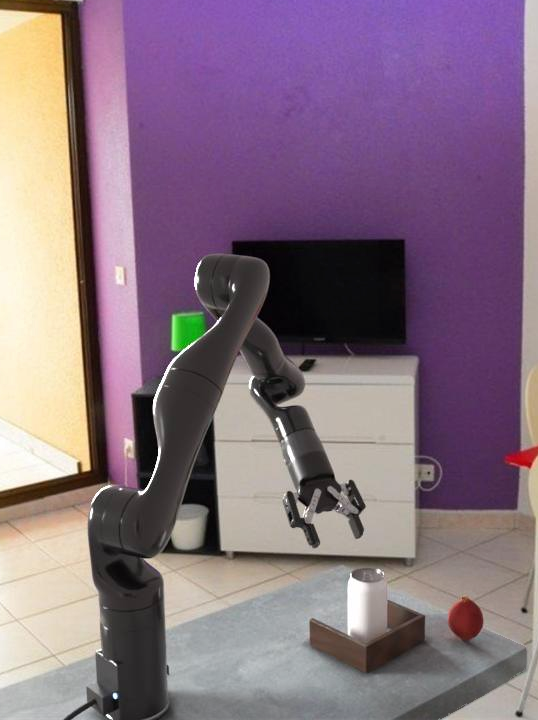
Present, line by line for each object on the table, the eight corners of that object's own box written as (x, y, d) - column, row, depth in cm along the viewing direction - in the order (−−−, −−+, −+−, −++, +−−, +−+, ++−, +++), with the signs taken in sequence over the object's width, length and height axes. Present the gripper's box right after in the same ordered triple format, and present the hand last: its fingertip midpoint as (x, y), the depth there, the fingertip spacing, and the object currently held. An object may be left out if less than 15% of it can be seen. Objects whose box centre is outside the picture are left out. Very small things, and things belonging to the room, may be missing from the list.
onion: (462, 628, 155) (463, 584, 153) (489, 640, 150) (491, 595, 149) (440, 640, 151) (441, 595, 149) (468, 653, 146) (469, 606, 145)
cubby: (366, 673, 141) (366, 646, 140) (309, 644, 150) (309, 619, 149) (425, 640, 151) (425, 615, 150) (368, 615, 160) (368, 591, 159)
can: (387, 633, 153) (387, 566, 151) (386, 653, 147) (387, 583, 145) (348, 632, 154) (348, 565, 152) (347, 651, 147) (346, 582, 145)
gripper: (277, 455, 158) (309, 540, 150) (347, 444, 165) (381, 524, 156) (264, 476, 163) (295, 559, 155) (333, 464, 170) (365, 543, 162)
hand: (338, 541), depth 156 cm, fingers open, 8 cm apart
